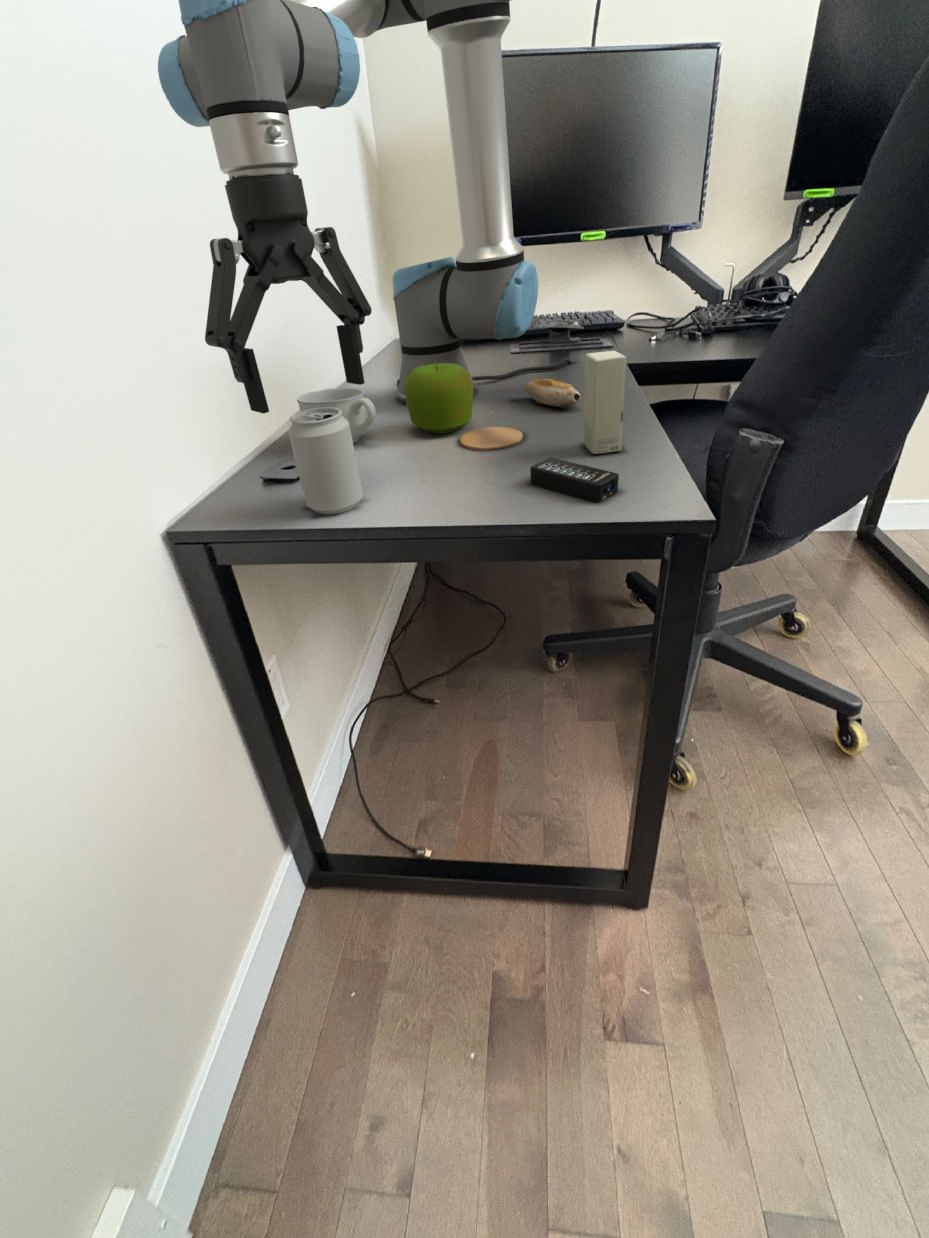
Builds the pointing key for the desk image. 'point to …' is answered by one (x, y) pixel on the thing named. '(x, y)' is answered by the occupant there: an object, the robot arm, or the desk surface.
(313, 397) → the teacup
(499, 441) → the coaster
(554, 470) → the multiport hub
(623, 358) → the box
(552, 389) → the beige elongated hollow pod
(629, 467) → the desk surface
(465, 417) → the apple
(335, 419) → the can
